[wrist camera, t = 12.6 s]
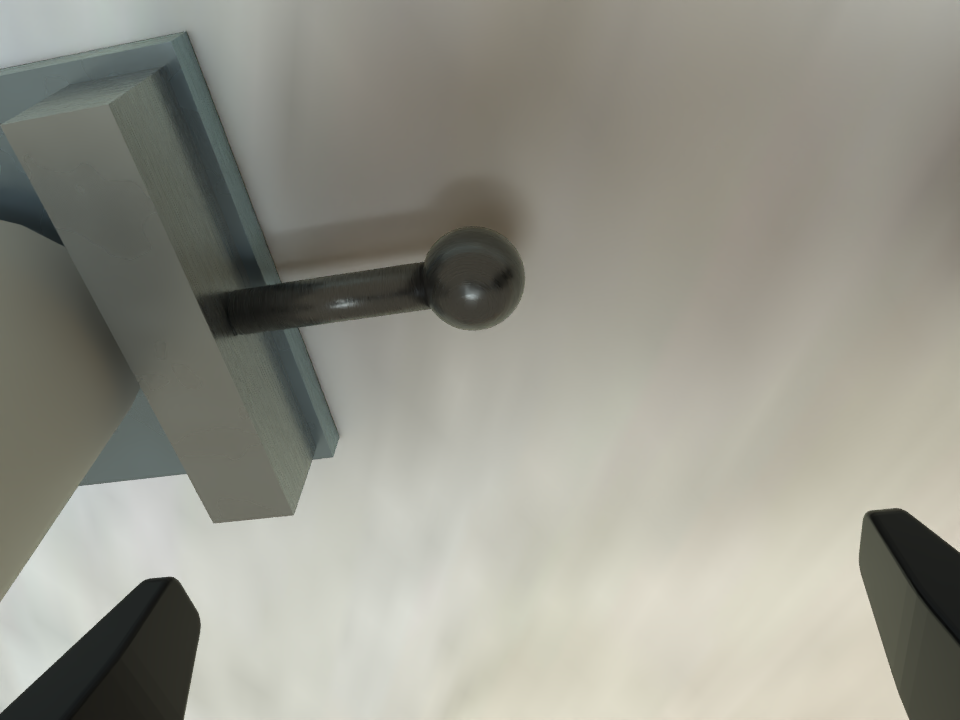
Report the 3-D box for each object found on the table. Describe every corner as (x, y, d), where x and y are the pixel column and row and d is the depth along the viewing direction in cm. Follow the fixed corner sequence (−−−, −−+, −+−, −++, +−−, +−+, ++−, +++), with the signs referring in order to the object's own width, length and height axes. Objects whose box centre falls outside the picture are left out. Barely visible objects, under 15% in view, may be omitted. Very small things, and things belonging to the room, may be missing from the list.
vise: (480, -29, 18) (458, 44, 12) (556, 411, 25) (564, 587, 19) (-332, 136, 21) (-648, 254, 16) (-61, 483, 29) (-209, 652, 23)
